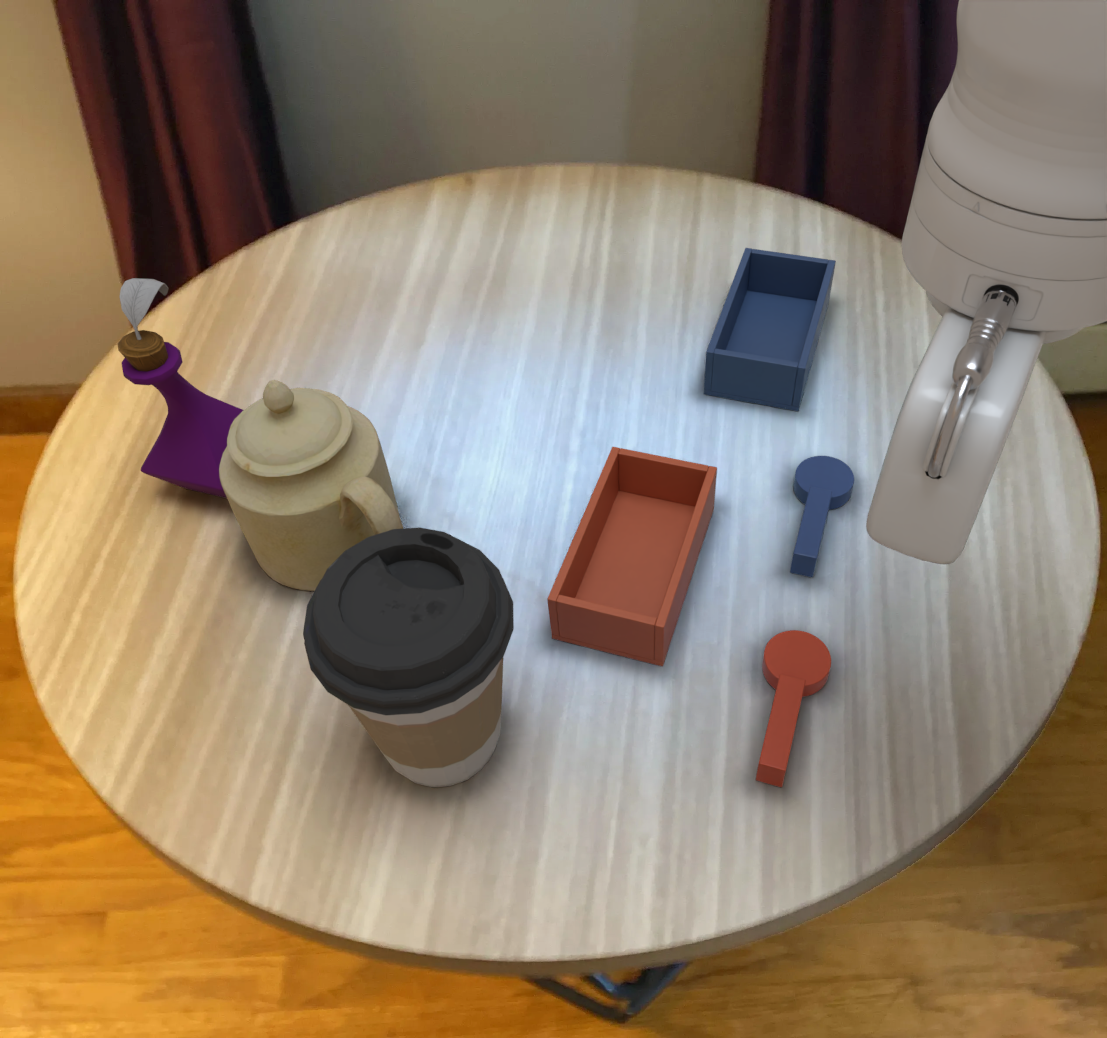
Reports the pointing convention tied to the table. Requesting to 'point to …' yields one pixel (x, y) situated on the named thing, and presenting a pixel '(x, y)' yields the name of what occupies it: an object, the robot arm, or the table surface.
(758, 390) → the blue bin
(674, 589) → the red bin
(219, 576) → the table surface
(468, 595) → the coffee cup
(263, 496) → the sugar bowl
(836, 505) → the blue spoon
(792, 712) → the red spoon
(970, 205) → the robot arm
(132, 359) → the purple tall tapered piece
